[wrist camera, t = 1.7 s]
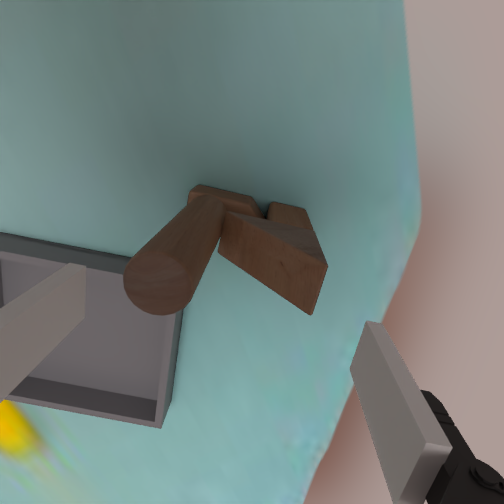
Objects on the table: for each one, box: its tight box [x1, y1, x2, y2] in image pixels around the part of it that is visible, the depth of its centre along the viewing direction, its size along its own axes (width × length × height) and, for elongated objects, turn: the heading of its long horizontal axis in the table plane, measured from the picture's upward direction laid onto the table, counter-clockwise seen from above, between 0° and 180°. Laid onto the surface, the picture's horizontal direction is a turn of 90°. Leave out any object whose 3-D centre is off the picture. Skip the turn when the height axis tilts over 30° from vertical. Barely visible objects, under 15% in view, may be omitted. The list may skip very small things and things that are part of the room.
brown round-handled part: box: [123, 185, 328, 316], centre depth 25 cm, size 4×11×18 cm, turn 77°
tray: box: [0, 232, 184, 429], centre depth 37 cm, size 18×20×4 cm
